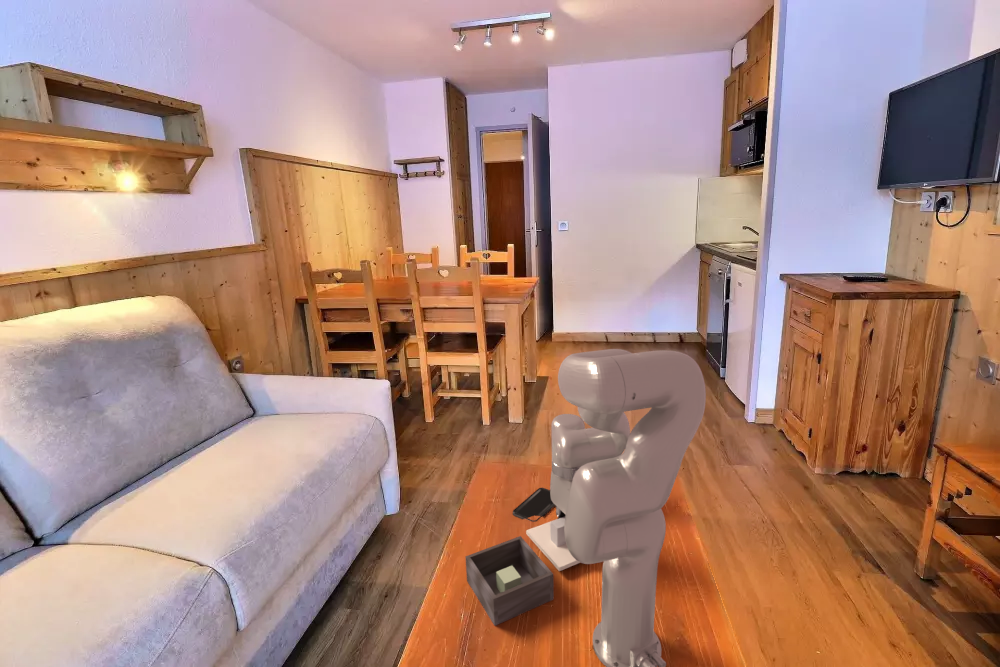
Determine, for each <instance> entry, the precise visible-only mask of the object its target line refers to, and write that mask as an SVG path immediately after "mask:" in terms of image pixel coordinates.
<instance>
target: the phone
mask: <svg viewBox="0 0 1000 667" xmlns="http://www.w3.org/2000/svg"><path fill="white" fill-rule="evenodd" d="M553 508H555V504H554V503H553V502H552V500H551V496H550V489H548V488H545V487H539V488H538V489H536V490H535V491H534V492H533V493H532V494H530V495H529V496H528V497H527V498H526V499H525V500H523V501H522V502H521V503H520V504H519V505H518V506H516V507H515V508H514V509H513V510H512V516H514V517H516V518H518V519H521V520H527V521H530V522H532V523H533V522H537V521H538V520H539V519H541V518H543V517H545V516H546V515H547V514H548V513H549V512H550V511H551V510H552V509H553ZM535 516H536V517H538V518H537V519H535V520H533V519H530V518H531V517H535Z"/></svg>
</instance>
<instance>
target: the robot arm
mask: <svg viewBox="0 0 1000 667" xmlns="http://www.w3.org/2000/svg"><path fill="white" fill-rule="evenodd" d="M557 384H558V387H559V391H560V394H561V396H562V397H563V398H564V400H565V401H566V402H568V403H570V404H571V405H573V406H576V407H577V411H578V414H579V415H577V414H572V413H563V414H559V415H556V416H555V417H553V419H552V421H551V472H550V483H549V484H550V485H549V490H550V496H551V500H552V502H553V503H554V504H555V506H554V508H555V514H556V516H557V518H556V519H559V518H562V517H565V525H564V532H565V541H566V545H567V548H568V550H569V552H570V554H571V555H572V556H573V557H574V558H575V559H576V560H577V561H579V562H580V563H581V564H583V565H584V564H585V565H592V564H593V565H594V564H597V563H602V570H601V571H602V572H601V573H602V574H601V581H602V582H601V616H600V617H601V619H600V620H601V621H600V622H599V623H598V624H597V625H596V626H595V627H594V630H593V633H592V647H593V651H594V654H595V655H596V656H597V658H598V660H599V661H600V662H601V664H603V665H604V666H605V667H666V666H667V662H666V661H665V660H664V659H663V658H662V644H661V641H660V639H659V637H658V635H657V634H656V632H655V630H654V629H655V611H656V593H657V582H658V581H657V578H658V566H659V560H660V555H661V552H662V549H663V544H664V542H665V537H666V530H667V529H666V528H667V524H666V520H665V515H664V512H663V509H662V508H664V506H665V505H666V504H667V501H669V498H670V495H671V493H672V490H673V487H674V485H675V482H676V479H677V476H678V474H679V471H680V469H681V465H682V462H683V459H684V457H685V454H686V452H687V450H688V448H689V446H690V443H692V441H693V439H694V438H695V435H696V433H697V431H698V429H699V427H700V425H701V423H702V420H703V417H704V415H705V409H706V398H707V395H706V394H707V391H706V383H705V379H704V375H703V372H702V370H701V367H700V365H699V364H698V363H697V361H696V360H695V359H694V358H693V357H691V356H689V354H686V353H684V352H681V351H675V350H665V349H663V350H662V349H661V350H652V351H651V350H649V351H648V350H647V351H641V352H634V353H632V352H631V351H629V350H626V349H621V348H609V349H607V348H606V349H602V350H593V351H592V350H591V351H590V350H589V351H585V352H584V351H583V352H577V353H571V354H569V355H568V356H566V357H565V358H564V359H563V361H562V362H561V363H560V367H559V369H558V372H557ZM644 409H649V411H647V413H646V414H645V415H644V416H642V418H641V419H639V421H638V422H637V423H636V424H635V425H634V427H633V428H632V429H631V427H630V421H629V419H628V416H627V415H626V413H625V412H631V411H638V410H644ZM586 424H587V425H588V426H589V427H590V428H589V427H588V428H586V427H585V425H586Z"/></svg>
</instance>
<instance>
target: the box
mask: <svg viewBox="0 0 1000 667" xmlns="http://www.w3.org/2000/svg"><path fill="white" fill-rule="evenodd" d="M509 566H513V567H514V568H515V570H516V571H517V572H518V574H519V575H520V576H521V584H520V585H518V586H516V587H513V588H511V589H508V590H506V591H504V592H501V593H500V591H499V590H498V588H497V581H496V572H497V571H499V570H502V569H504V568H507V567H509ZM465 571H466V581H467V583H468V585H469V587H470V588H471V589H472V592H473V593H474V595H475V597H476V598H477V599H478V601H479V603H480V605H481V607H482V608H483V610H484V611H485V613H486V614H487V615H488V618H489V619H490V620H491V621H490V622H491V623H492V624H493V626H498V625H500V624H502V623H504V622H507V621H509V620H511V619H513V618H516V617H518V616H520V615H522V614H525V613H527V612H529V611H531V610H533V609H536V608H538V607H540V606H542V605H544V604H547V603H549V602H552V601H554V597H555V596H554V572H552V570H551V569H550V568H549V567H548V566H547V565H546V564H545V562H544V561H543V560H542V559H541V558H540V556H538V554H537V553H536V552H535V551H534V550H533V549H532V548H531V546H530V545H529V544H528V543H527V541H525V539H524V538H523V537H522V536H521V535H519V536H516V537H514V538H511V539H509V540H506V541H503V542H500V543H498V544H496V545H493V546H490V547H487V548H484V549H481V550H479V551H476V552H474V553H471V554H469V555H466V556H465Z"/></svg>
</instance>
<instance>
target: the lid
mask: <svg viewBox="0 0 1000 667" xmlns="http://www.w3.org/2000/svg"><path fill="white" fill-rule="evenodd" d="M564 525H565V517H562V518H559V519H557V518H556V519H554V520H551V521H547V522H545V523H543V524H541V525H540V524H539V525H538V526H533V527H532V528H529V529H527V530H526V531H525V533H526V535H527V537H528V538H529V539H530V541H532V542H533V544H535V546H536V547H537V548H538V549H539V550H540V551H541V553H543V555H544V556H545V557H546V558H547V559H548V560H549V562H551V563H552V565H553V566H554V567H555V569H556V570H558V572H560V571H563V570H565V569H568V568H571V567H572V566H576V565H578V564H580V563H581V562H579V561H577V560H576V559H575V558H574V557H573V556H572V555H571V554H570V552H569V550H568V548H567V545H566V541H565V532H564Z"/></svg>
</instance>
